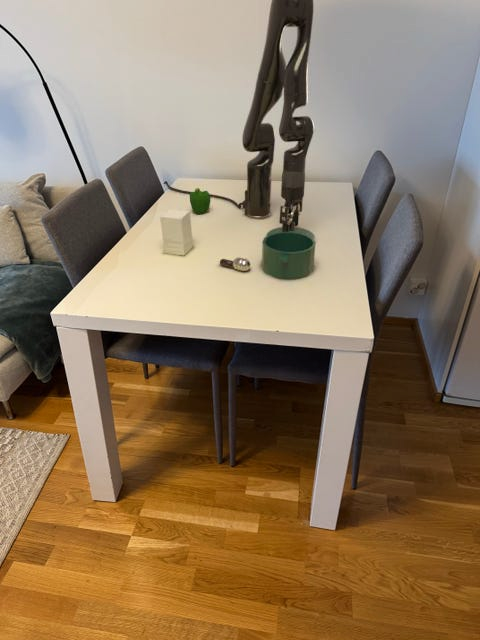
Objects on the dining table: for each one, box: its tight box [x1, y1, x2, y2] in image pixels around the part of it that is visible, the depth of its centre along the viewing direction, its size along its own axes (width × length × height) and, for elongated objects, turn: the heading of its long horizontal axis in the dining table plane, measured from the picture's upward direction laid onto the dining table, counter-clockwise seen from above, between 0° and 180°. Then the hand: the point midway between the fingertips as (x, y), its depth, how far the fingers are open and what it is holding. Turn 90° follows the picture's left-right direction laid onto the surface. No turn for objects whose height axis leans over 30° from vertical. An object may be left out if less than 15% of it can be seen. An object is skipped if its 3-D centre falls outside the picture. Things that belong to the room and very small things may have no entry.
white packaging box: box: [159, 208, 194, 256], centre depth 145 cm, size 7×7×13 cm
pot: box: [261, 231, 317, 280], centre depth 135 cm, size 16×21×8 cm
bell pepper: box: [189, 187, 212, 215], centre depth 176 cm, size 8×8×10 cm
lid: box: [266, 220, 315, 240], centre depth 155 cm, size 17×17×6 cm
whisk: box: [219, 256, 251, 272], centre depth 136 cm, size 10×4×4 cm, turn 62°
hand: (290, 229), depth 155 cm, fingers open, 8 cm apart
